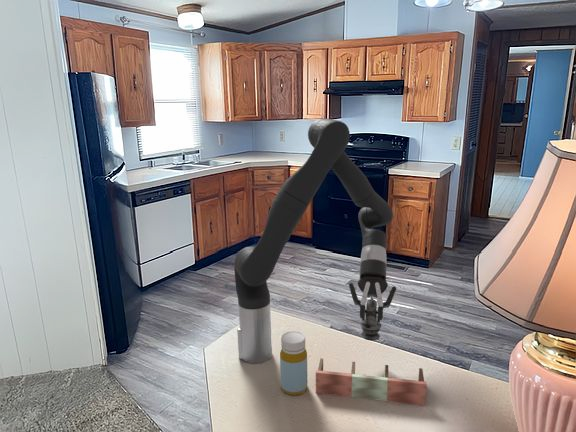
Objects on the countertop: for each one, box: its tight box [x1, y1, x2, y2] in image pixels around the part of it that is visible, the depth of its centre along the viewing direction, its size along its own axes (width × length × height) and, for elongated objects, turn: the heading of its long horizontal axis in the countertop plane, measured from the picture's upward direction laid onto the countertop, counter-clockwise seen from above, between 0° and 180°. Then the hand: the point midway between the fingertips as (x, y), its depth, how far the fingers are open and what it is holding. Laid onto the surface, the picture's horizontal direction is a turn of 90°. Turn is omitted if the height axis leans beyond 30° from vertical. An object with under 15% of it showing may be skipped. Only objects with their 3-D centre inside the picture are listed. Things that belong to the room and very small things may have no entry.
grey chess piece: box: [359, 297, 382, 341], centre depth 120 cm, size 6×6×12 cm
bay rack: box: [315, 357, 427, 406], centre depth 112 cm, size 27×10×6 cm, turn 78°
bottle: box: [279, 330, 308, 396], centre depth 111 cm, size 7×7×15 cm
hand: (371, 320), depth 118 cm, fingers closed on grey chess piece, 3 cm apart
